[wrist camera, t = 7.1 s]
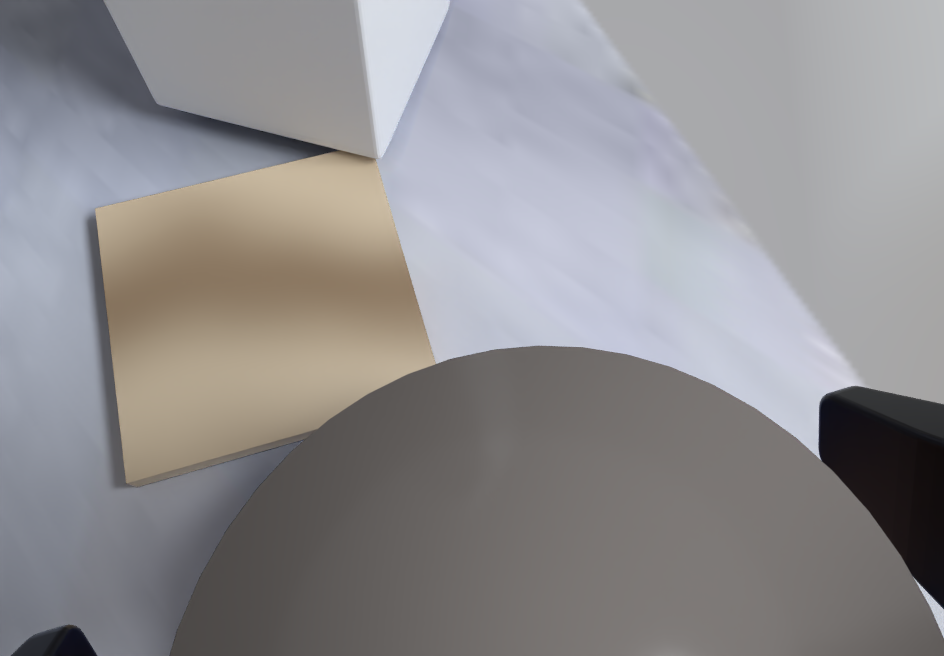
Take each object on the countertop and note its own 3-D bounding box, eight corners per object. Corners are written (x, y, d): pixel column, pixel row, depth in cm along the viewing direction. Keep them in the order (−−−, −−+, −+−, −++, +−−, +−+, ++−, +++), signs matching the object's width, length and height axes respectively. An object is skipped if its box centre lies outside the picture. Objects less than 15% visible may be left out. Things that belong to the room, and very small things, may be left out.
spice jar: (626, 706, 14) (1179, 1106, 3) (417, 780, 14) (216, 1549, 3) (555, 495, 16) (761, 271, 5) (365, 554, 16) (104, 456, 4)
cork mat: (445, 399, 18) (444, 392, 17) (137, 487, 17) (126, 483, 16) (373, 154, 21) (370, 142, 20) (105, 219, 20) (95, 208, 19)
